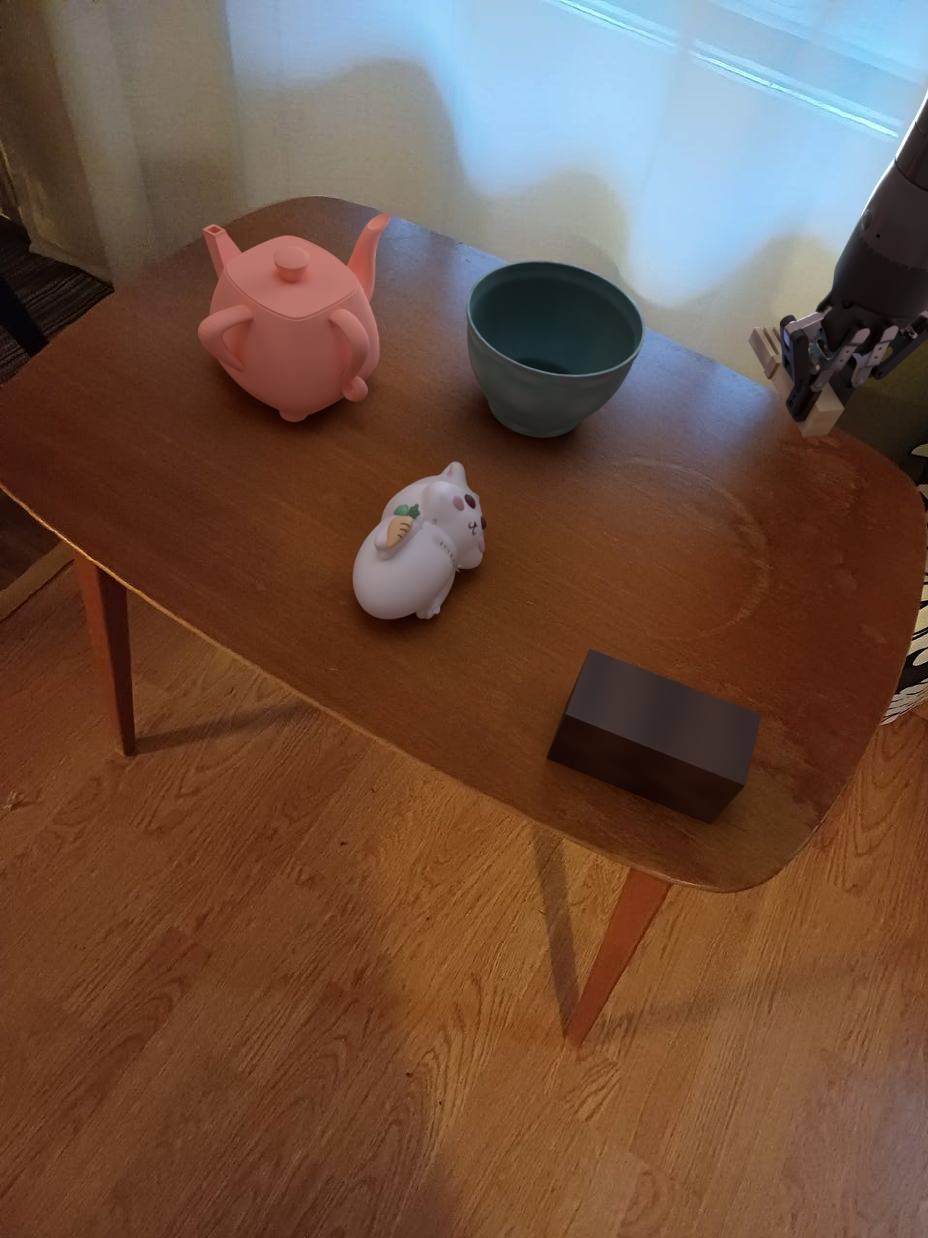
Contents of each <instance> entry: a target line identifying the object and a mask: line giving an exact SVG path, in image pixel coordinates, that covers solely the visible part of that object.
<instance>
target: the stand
mask: <svg viewBox="0 0 928 1238" xmlns="http://www.w3.org/2000/svg"><path fill="white" fill-rule="evenodd" d="M576 677H577V678H576V680H575V682H574V684H573V687H572V689H571V691H570V694H569V696H568V699H567V701H566V704H565V707H564V709H563V712H562V715H561V718H560V719H559V722H558V724H557V725H558V726H557V728H556V730H555V734H554V736H553V738H552V741H551V744H550V747H549V749H548V752H547V755H546V759H548V760H551V761H553V762H555V763H558V764H561V765H564V766H565V767H568V768H570V769H573V770H575V771H577V772H581V773H583V774H586V775H588V776H591V777H593V778H595V779H598V780H599V781H602V782H605V783H608V784H610V785H612V786H615V787H617V788H620V789H622V790H625V791H628V792H629V793H632V794H635V795H638V796H639V797H642V798H645V799H647V800H650V801H652V802H655V803H657V804H660V805H662V806H664V807H667V808H670V809H672V810H675V811H677V812H679V813H682V814H685V815H687V816H690V817H692V818H694V819H696V820H699V821H702V822H703V823H706V824H708V825H712V824H713V823H714V822H715V821H716V819H717V818H719V816H720V815H721V814H722V813H723V812H724V811H725V809H726V808H728V806H729V805H730V804H731V803H732V801H733V800H734V799H735V798H736V797H737V796H738V795H739V794H740V793H741V792H742V791H743V789H744V788H745V787H746V785H747V782H748V776H749V773H750V768H751V763H752V759H753V754H754V751H755V746H756V741H757V737H758V733H759V728H760V724H761V719H762V714H761V713H759V712H756V711H753V710H751V709H748V708H745V707H743V706H741V705H738V704H736V703H733V702H730V701H728V700H725V699H723V698H720V697H718V696H715V695H712V694H709V693H707V692H705V691H703V690H700V689H697V688H695V687H691V686H689V685H686V684H684V683H682V682H678V681H676V680H673V679H671V678H668V677H666V676H663V675H661V674H658V673H655V672H653V671H650V670H648V669H645V668H644V667H643V668H642V667H640V666H638V665H635V664H632V663H631V662H630V663H629V662H627V661H624V660H623V659H619V658H618V657H615V656H612V655H609V654H607V653H604V652H601V651H600V650H596V649H594V648H591V647H590V648H589V649H588V652H587V654H586V656H585V658H584V661H583V663H582V666H581V668H580V671H579V673H578V675H577V676H576Z"/></svg>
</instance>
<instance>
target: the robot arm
mask: <svg viewBox="0 0 928 1238" xmlns="http://www.w3.org/2000/svg"><path fill="white" fill-rule="evenodd" d="M779 326H780V336H781V350H782V364H783V367H784V369H785V370H786V372H787V373H788V375H789V377H790V378H791V380H792V381H793V383H794V384H795V385H794V387H793V389H792V391H791V393H790V394H789V397H788V398H787V400H786V405H785V407H786V409H787V411H788V413H789V415H790V416H791V418H792V420H793V419H794V420H793V422H794V423H795V422H804V421H805V420H806V418H807V417H808V415H809V413H810V411H811V409H812V408H813V406H814V404H815V403H816V402H817V400H818V398H819V396H820V395H821V393H822V388H823V387H824V386H825V385H826V383H827V382H829V384H830V386H831V387H832V389H833V391H834V392H835V394H836V396H837V397H838V399H839V400H840V402H841V404H842V405H843V407H844V408H845V407H846V406H847V404H848V402H849V400H850V399H851V397H852V395H853V394H854V392H855V391H856V390H857V388H860V387H861V386H863V385H865V384H866V382H867V381H868V379H870V378H874V380H876V381H880V380H882V379H884V378H885V377H887V376H888V375H889V374H890V373H891V372H892V371H894V370H895V368H897V367H898V366H899V365H900V364H901V363H903V362H904V360H906V359H907V358H908V357H909V356H910V355H911V354H912V353H914V352H915V351H916V350H917V349H918V348H919V347H920V346H921V345H923V344H924V343H925V342H926V341H927V340H928V88H927V90H926V93H925V95H924V98H923V101H922V103H921V105H920V106H919V108H918V110H917V112H916V114H915V116H914V118H913V121H912V122H911V124H910V126H909V128H908V130H907V132H906V134H905V136H904V138H903V139H902V142H901V144H900V145H899V148H898V149H897V152H896V154H895V155H894V157H893V159H892V161H891V162H890V164H889V165H888V167H887V168H886V170H885V171H884V173H883V174H882V175H881V177H880V178H879V180H878V182H877V183H876V185H875V187H874V189H873V190H872V192H871V194H870V197H869V198H868V200H867V203H866V204H865V207H863V210H862V213H861V215H860V217H859V218H858V220H857V222H856V224H855V226H854V228H853V230H852V232H851V234H850V236H849V238H848V240H847V242H846V244H845V246H844V248H843V250H842V252H841V254H840V256H839V258H838V260H837V262H836V264H835V267H834V271H833V279H832V285H831V288H830V291H829V292H828V293H827V295H825V297H824V298H823V299H822V300H821V301H820V302H819V303H818V304H817V306H816V308H815V311H814V312H813V313H810V314H809V315H806V316H804V317H802V318H800V319H798V320H797V318H796V317H795V316H794V315H793V314H788V315H785V316H784V317H783V318H782V319H781V320H780V322H779ZM889 348H891V350H892V351H891V353H890V354H889V355H888V356H887V357H886V358H885V359H884V360H883V357H884V355H885V353H886V351H887V350H888V349H889ZM819 363H820V365H819ZM817 364H818V365H819V367H820V368H819V370H817V369H816V366H817Z"/></svg>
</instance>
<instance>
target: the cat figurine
mask: <svg viewBox="0 0 928 1238" xmlns="http://www.w3.org/2000/svg"><path fill="white" fill-rule="evenodd" d="M467 483H468V482H467V478H466V471H465V468H464V466H463V464H462V463H460V462H459V461H452V462H451V463H449V464H448V465H447V466H446V468H444V469H443V471H442V472H441V473H440V474H439V475H431V476H427V477H424V478H421V479H418V480H416V481H414V482H412V483H410V484H409V485H407V486H405V487H404V488H403V489H401V490H400V491H399V492H397V493H396V494H395V495H394V496H393V497H391V499H390V500H389V501H388V503H387V504H386V505H385V507H384V510H383V512H382V515H381V519H380V522H379V523H378V524H377V525H376V526H375V527H374V528H373V529H372V531H371V532H370V533H369V534H368V535H367V537H366V538H365V539H364V541H363V542H362V544H361V546H360V548H359V550H358V552H357V554H356V557H355V560H354V563H353V569H352V587H353V591H354V595H355V597H356V600H357V602H358V603H359V605H360V607H361V608H362V609H363V610H364V611H365V612H366V613H368V614H369V615H371V616H373V617H375V618H378V619H381V620H397V619H400V618H404V617H408V616H410V615H412V614H414V613H415V615H416V617H417V618H418V619H426V620H430V619H431V618H433V616H435V615H438V614H439V613H440V612H441V606H442V605H443V603H444V602H445V600H446V598H447V596H448V595H449V593H450V591H451V589H452V586H453V583H454V581H455V576H456V572H458V573H461V571H460V569H462V570H471V569H474V568H477V567H478V566H479V565H480V564H481V562H482V560H483V556H484V552H485V550H486V543H485V539H484V538H485V537H484V536H485V535H484V533H485V532H484V530H485V529H486V528H487V521H486V518H485V517H484V516H483V511H482V507H481V505H480V502H481V501H480V496H479V495H478V494H477V493H476V492H474V491H472V489H470V487H469V486H468V484H467Z"/></svg>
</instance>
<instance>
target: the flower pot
mask: <svg viewBox="0 0 928 1238" xmlns="http://www.w3.org/2000/svg"><path fill="white" fill-rule="evenodd" d="M465 311H466V323H467V326H466V342H467V350H468V356H469V362H470V366H471V369H472V372H473V375H474V377H475V380H476V382H477V385H478V386H479V389H480V390H481V392H482V393H483V395H484V396H485V398H486V399H487V404H488V408H489V409H490V411H491V414H492V415H493V416H494V418H495V419H496V420H497V421H498V422H499V423H501V425H503V426H504V427H506V428H507V429H509V430H511V431H513V432H516V433H517V434H520V435H523V436H526V437H531V438H541V439H545V438H547V439H548V438H554V437H558V436H563V435H564V434H567V433H570V431H572V430H573V429H574V428H576V427H577V426H578V425H579V423H580V422H582V421H584V420H585V419H587V418H589V417H591V416H592V415H594V414H595V413H596V412H598V411H599V410H600V409H601V408H602V407H604V406H605V405H606V404H607V403H608V402H609V401H610V399H612V397H613V396H614V395H615V394H616V393H617V392H618V391H619V389H620V388H621V386H622V385H623V383H624V382H625V380H626V378H627V376H628V375H629V372H630V371H631V369H632V366H633V364H634V361H636V359H637V357H639V354H640V352H641V350H642V347H643V345H644V342H645V340H646V334H647V333H646V322H645V318H644V316H643V314H642V311H641V310H640V308H639V307H638V305H637V303H636V302H635V301H634V299H633V298H632V297H630V296H629V294H628V293H627V292H625V291H624V290H623V289H622V288H621V287H619V285H617V284H616V283H615V282H613V281H611V280H610V279H609V278H607V277H604V275H601V274H599V273H597V272H595V271H592V270H590V269H587V268H585V267H582V266H578V265H575V264H572V263H568V262H561V261H556V260H546V259H542V260H541V259H540V260H537V259H535V260H521V261H520V260H519V261H514V262H510V263H506V264H503V265H500V266H498V267H496V268H493V269H491V270H490V271H488V272H486V273H485V274H483V275H482V276H481V277H480V278H479V279H477V280H476V282H475V283H474V284H473V285H472V286H471V289H470V290H469V293H468V295H467V300H466V309H465Z"/></svg>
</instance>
